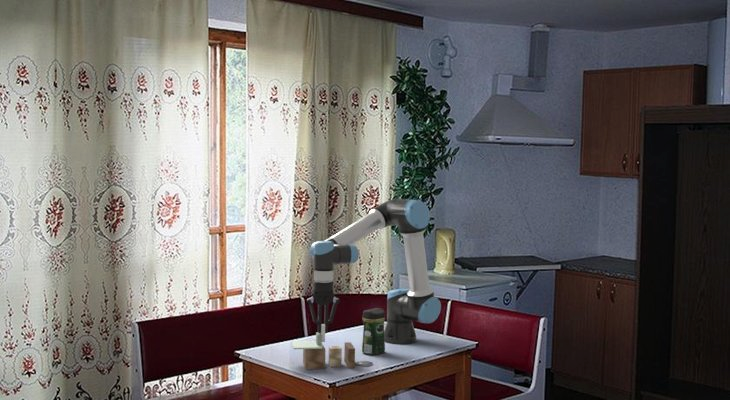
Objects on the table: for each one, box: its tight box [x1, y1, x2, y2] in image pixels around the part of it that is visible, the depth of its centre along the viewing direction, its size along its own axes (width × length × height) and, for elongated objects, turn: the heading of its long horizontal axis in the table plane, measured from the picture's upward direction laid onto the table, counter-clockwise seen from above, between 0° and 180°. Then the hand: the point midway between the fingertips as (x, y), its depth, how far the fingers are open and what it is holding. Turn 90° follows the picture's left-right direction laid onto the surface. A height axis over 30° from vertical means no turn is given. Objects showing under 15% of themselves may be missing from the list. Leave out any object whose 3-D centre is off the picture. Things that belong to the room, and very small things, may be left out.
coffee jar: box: [361, 307, 386, 356], centre depth 329 cm, size 10×8×19 cm
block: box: [327, 345, 343, 368], centre depth 308 cm, size 4×4×7 cm
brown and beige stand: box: [302, 341, 356, 370], centre depth 308 cm, size 19×11×8 cm, turn 100°
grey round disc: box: [355, 360, 373, 367], centre depth 310 cm, size 7×7×1 cm
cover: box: [290, 331, 323, 350], centre depth 306 cm, size 11×12×5 cm
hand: (322, 341), depth 307 cm, fingers closed
